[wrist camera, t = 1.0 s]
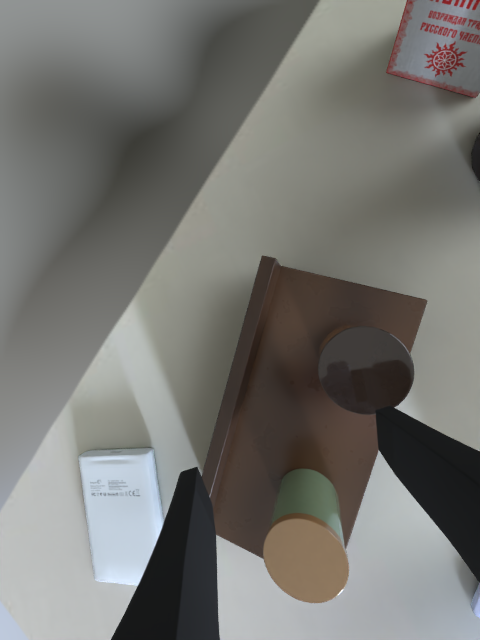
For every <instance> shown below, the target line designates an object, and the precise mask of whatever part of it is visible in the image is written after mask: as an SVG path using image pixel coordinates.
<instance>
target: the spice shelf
mask: <svg viewBox="0 0 480 640" xmlns="http://www.w3.org/2000/svg"><path fill="white" fill-rule="evenodd" d="M426 304H427V300H425V299H420V298H416V297H412V296H408V295H403V294H399V293H395V292H391V291H386V290H382V289H378V288H374V287H369V286H365V285H361V284H357V283H352V282H348V281H344V280H339V279H335V278H331V277H327V276H322V275H318V274H314V273H310V272H305V271H301V270H297V269H293V268H288V267H284V266H281V265H280V264H279V262H278V261H277V259H276V258H272V257H268V256H262V257H261V261H260V264H259V268H258V272H257V275H256V279H255V283H254V286H253V290H252V294H251V297H250V301H249V305H248V308H247V312H246V316H245V319H244V323H243V327H242V330H241V334H240V338H239V341H238V345H237V349H236V352H235V356H234V360H233V363H232V367H231V371H230V374H229V378H228V382H227V385H226V389H225V393H224V396H223V400H222V404H221V407H220V411H219V415H218V418H217V422H216V426H215V429H214V433H213V437H212V440H211V444H210V448H209V451H208V455H207V459H206V462H205V466H204V470H203V473H202V480H203V482H204V485H205V487H206V490H207V492H208V494H209V497H210V499H211V502H212V506H213V514H214V522H215V531H216V535H218V536H220V537H222V538H224V539H226V540H228V541H230V542H232V543H234V544H236V545H238V546H240V547H242V548H244V549H246V550H247V551H249V552H251V553H253V554H255V555H257V556H259V557H261V558H263V559H264V556H263V545H264V541H265V537H266V533H267V531H268V529H269V527H270V522H271V517H272V513H273V508H274V504H275V499H276V495H277V490H278V486H279V483H280V481H281V479H282V478H283V477H284V476H285V475H286V474H287V473H289V472H291V471H293V470H296V469H303V468H304V469H311V470H314V471H317V472H319V473H321V474H322V475H324V476H325V477H326V478H327V479H328V480H329V481H330V482H331V483H332V484H333V486H334V488H335V490H336V492H337V495H338V499H339V506H340V514H341V522H342V530H343V539H344V546H345V549H346V548H347V545H348V542H349V539H350V536H351V533H352V530H353V526H354V523H355V520H356V517H357V514H358V511H359V508H360V505H361V502H362V499H363V496H364V493H365V490H366V487H367V484H368V481H369V478H370V475H371V472H372V469H373V466H374V462H375V459H376V456H377V453H378V450H379V449H378V438H377V426H376V414H375V415H361V414H356V413H352V412H349V411H347V410H345V409H343V408H341V407H340V406H338V405H337V404H335V403H334V402H333V401H332V400H331V399H330V398H329V397H328V395H327V394H326V393H325V391H324V390H323V387H322V385H321V383H320V380H319V375H318V361H319V349H320V346H321V343H322V341H323V339H324V338H325V337H326V336H327V335H328V333H330V332H331V331H332V330H334V329H336V328H338V327H341V326H345V325H358V326H371V327H376V328H379V329H382V330H385V331H387V332H389V333H391V334H392V335H394V336H395V337H396V338H398V339H399V340H400V341H401V342H402V343H403V344H404V345H405V347H406V348H407V350H408V352H409V353H411V350H412V347H413V344H414V340H415V337H416V334H417V331H418V328H419V325H420V322H421V319H422V316H423V313H424V310H425V307H426Z"/></svg>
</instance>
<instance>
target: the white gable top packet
mask: <svg viewBox="0 0 480 640" xmlns="http://www.w3.org/2000/svg"><path fill="white" fill-rule="evenodd" d="M386 73H389V74H393V75H396V76H400V77H403V78H407V79H411V80H414V81H418V82H421V83H425V84H428V85H432V86H435V87H439V88H442V89H446V90H449V91H453V92H456V93H460V94H463V95H467V96H471V97H474V98H476V97H477V95H478V94H479V93H480V0H407V2H406V6H405V9H404V13H403V16H402V20H401V23H400V27H399V30H398V34H397V37H396V40H395V44H394V47H393V51H392V54H391V58H390V61H389V65H388V68H387V72H386Z"/></svg>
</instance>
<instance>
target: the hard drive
mask: <svg viewBox="0 0 480 640" xmlns="http://www.w3.org/2000/svg"><path fill="white" fill-rule="evenodd" d="M78 459H79V467H80V473H81V481H82V489H83V497H84V504H85V512H86V520H87V527H88V535H89V543H90V550H91V557H92V564H93V571H94V579H95V580H96V581H101V582H110V583H120V584H130V585H138V584H139V582H140V580H141V578H142V576H143V573H144V571H145V569H146V566H147V564H148V562H149V559H150V557H151V554H152V552H153V550H154V547H155V545H156V542H157V540H158V537H159V535H160V532H161V529H162V526H163V524H164V520H163V514H162V506H161V499H160V492H159V485H158V479H157V472H156V465H155V457H154V451H153V448H131V449H108V450H90V451H86V452H84V453H83V454H81V455H79V456H78Z"/></svg>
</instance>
